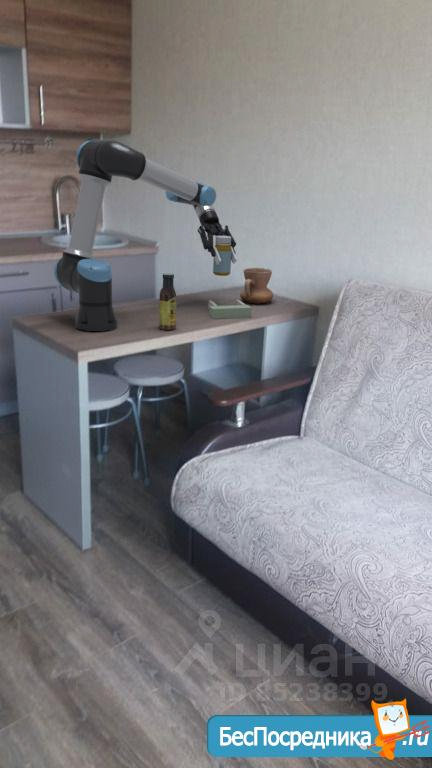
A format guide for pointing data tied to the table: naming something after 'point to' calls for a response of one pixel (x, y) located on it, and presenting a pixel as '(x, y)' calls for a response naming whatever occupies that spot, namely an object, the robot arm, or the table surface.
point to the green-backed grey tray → (229, 310)
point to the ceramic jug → (256, 285)
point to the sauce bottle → (167, 303)
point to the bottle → (223, 256)
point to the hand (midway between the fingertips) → (227, 262)
